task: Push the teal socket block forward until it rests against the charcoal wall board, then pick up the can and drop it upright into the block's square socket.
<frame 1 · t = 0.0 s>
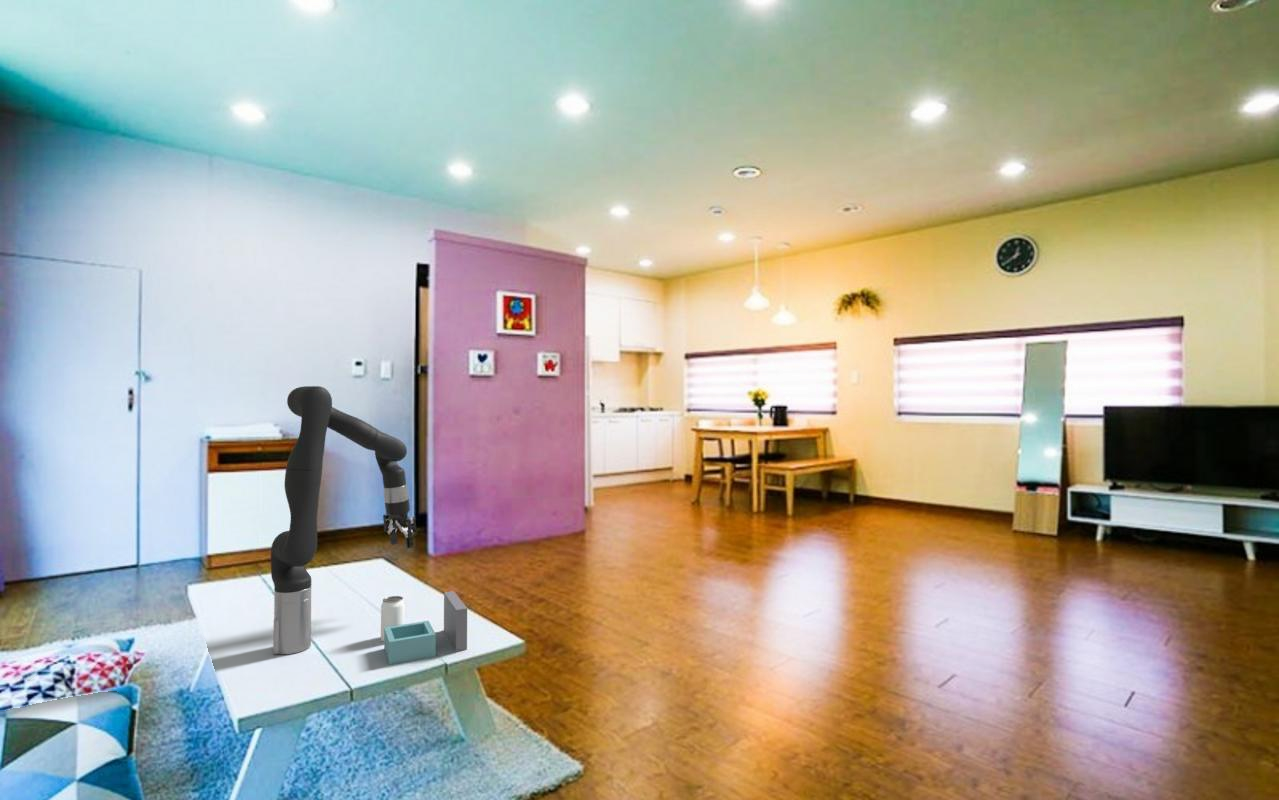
hand: (402, 545, 205), 22 cm above the table, tool pointing down, fingers open, 8 cm apart
socket block: (409, 641, 171), point 3 cm above the table, slide at 0.0 cm
can: (392, 640, 181), on the table
wall board: (454, 640, 181), on the table
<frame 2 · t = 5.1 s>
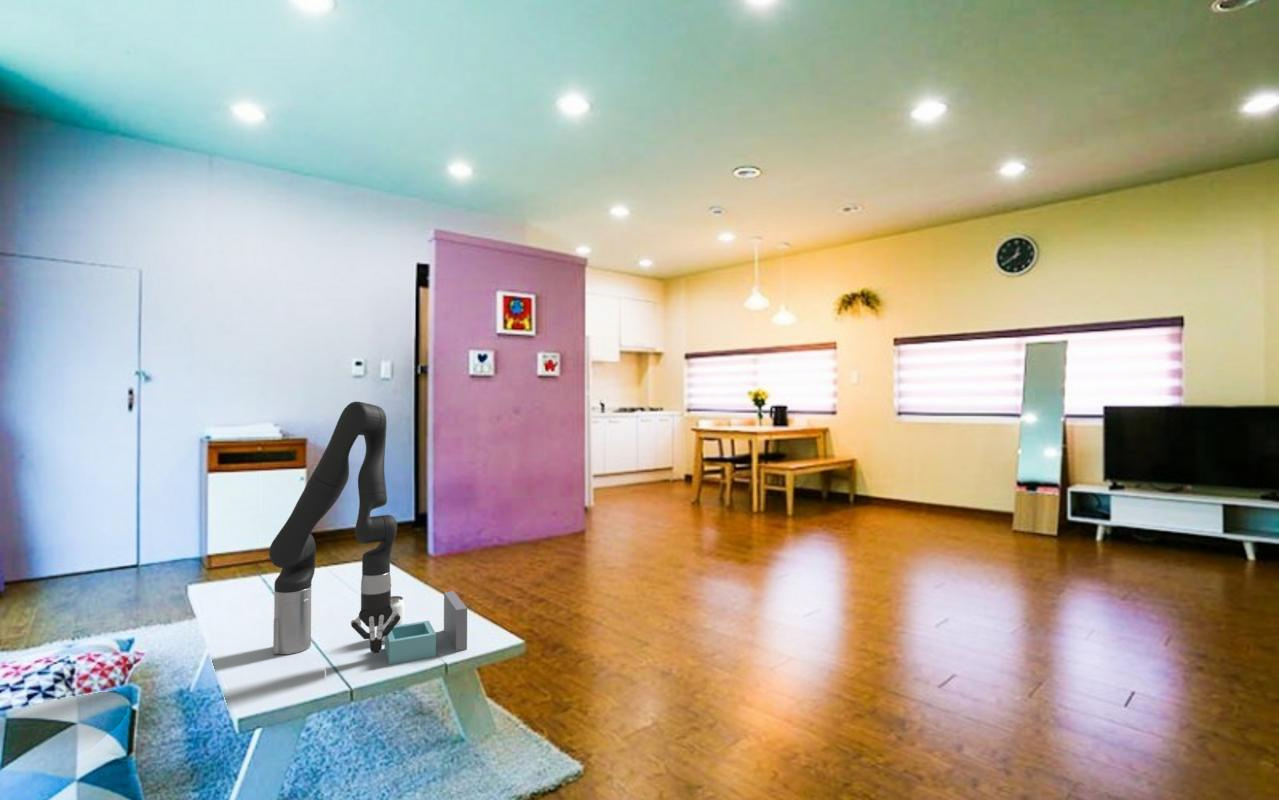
hand: (375, 652, 167), 2 cm above the table, tool pointing down, fingers closed
socket block: (409, 641, 171), point 3 cm above the table, slide at 0.1 cm, touching gripper
everything else where it was.
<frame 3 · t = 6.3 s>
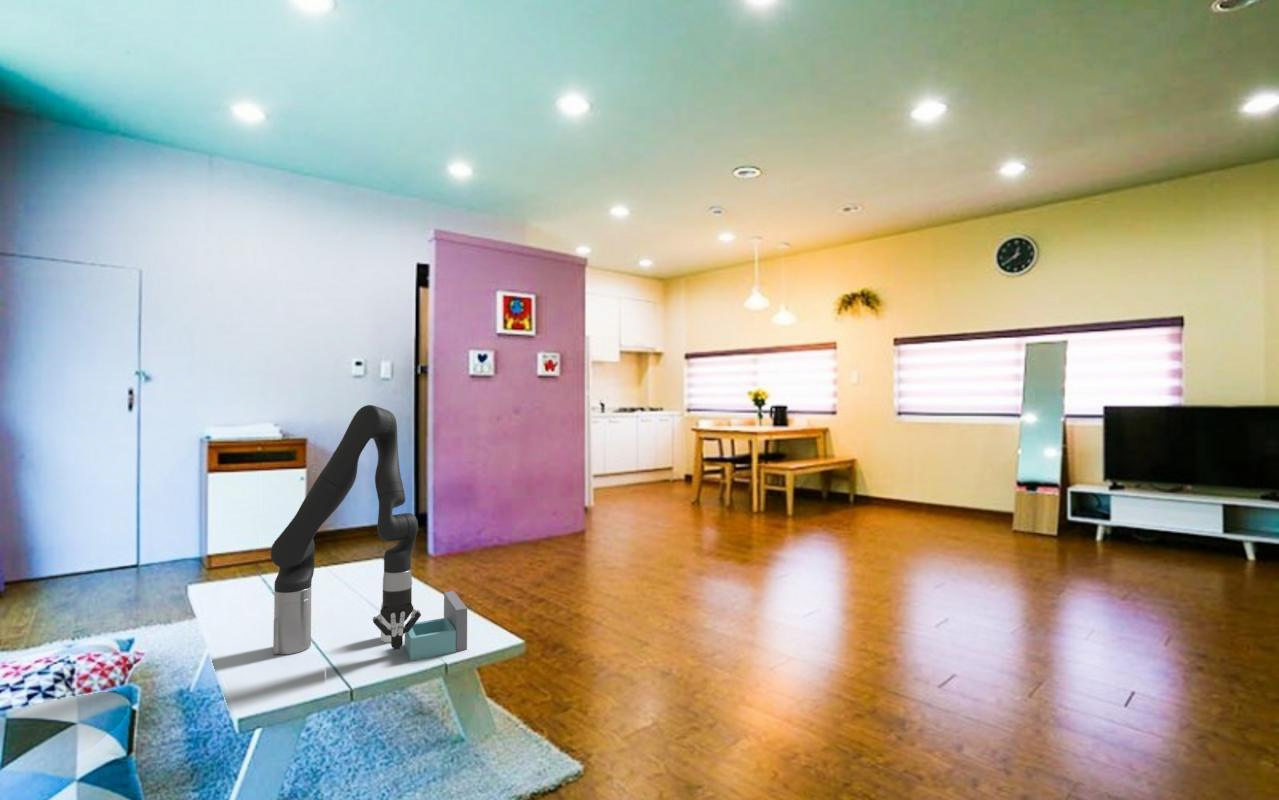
hand: (396, 648, 170), 2 cm above the table, tool pointing down, fingers closed
socket block: (429, 638, 174), point 3 cm above the table, slide at 5.5 cm, touching gripper
everything else where it was.
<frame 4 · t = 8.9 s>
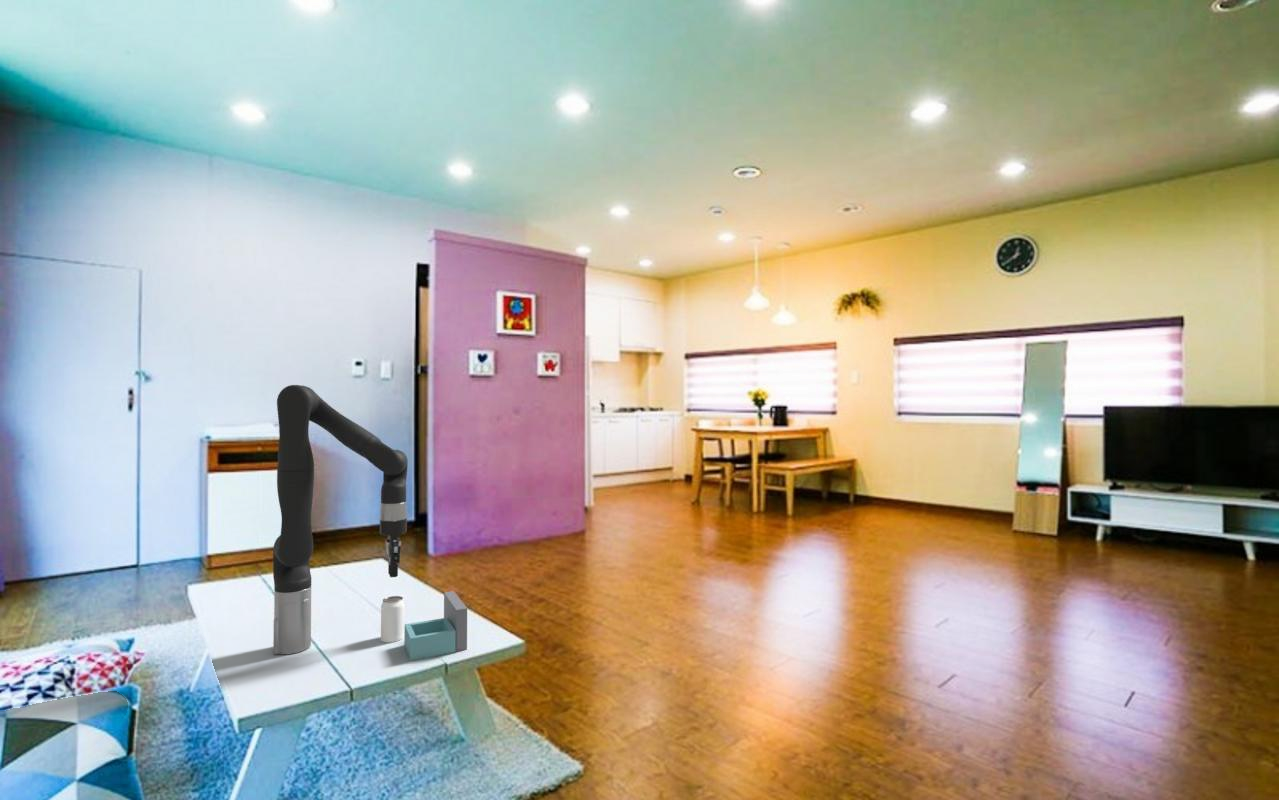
hand: (393, 575, 181), 19 cm above the table, tool pointing down, fingers closed
socket block: (429, 638, 174), point 3 cm above the table, slide at 5.4 cm
everything else where it was.
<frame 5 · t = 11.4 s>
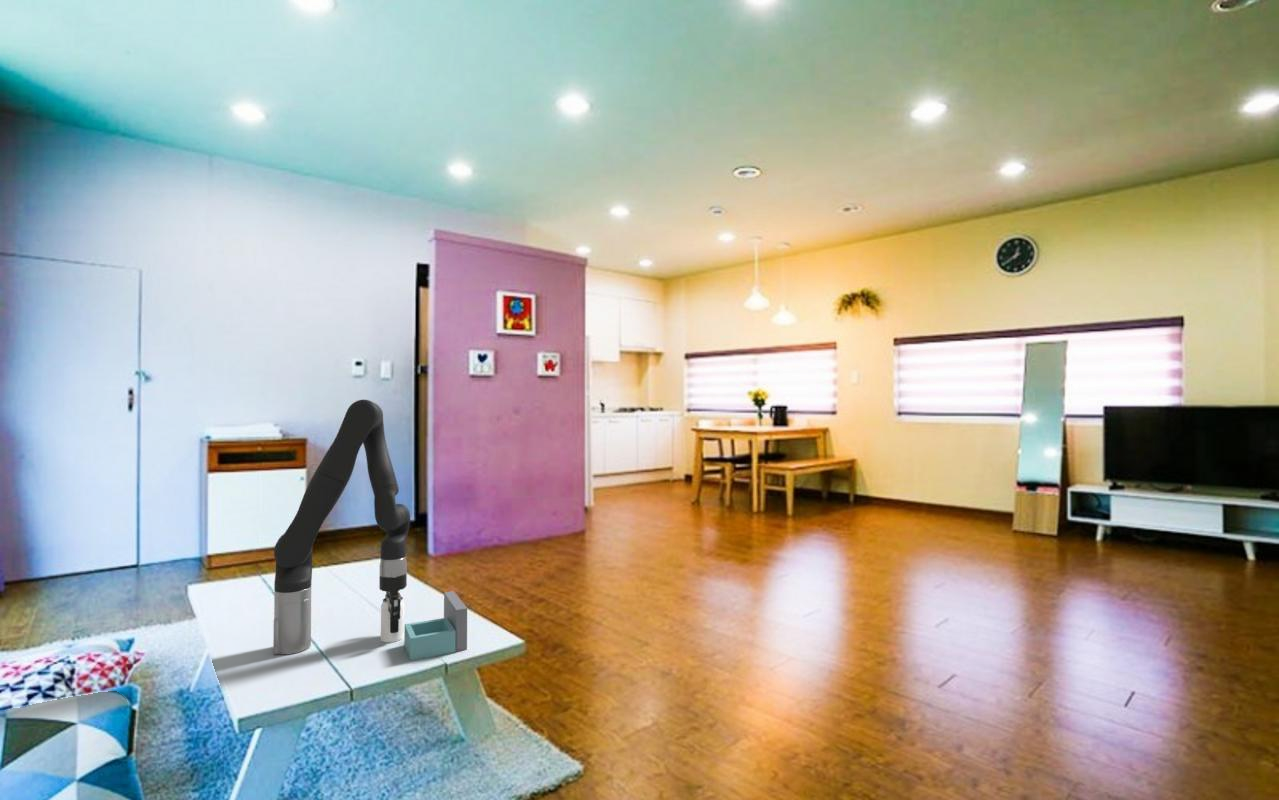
hand: (392, 628, 181), 3 cm above the table, tool pointing down, fingers closed on can, 6 cm apart
can: (392, 640, 181), on the table, touching gripper
everything else where it was.
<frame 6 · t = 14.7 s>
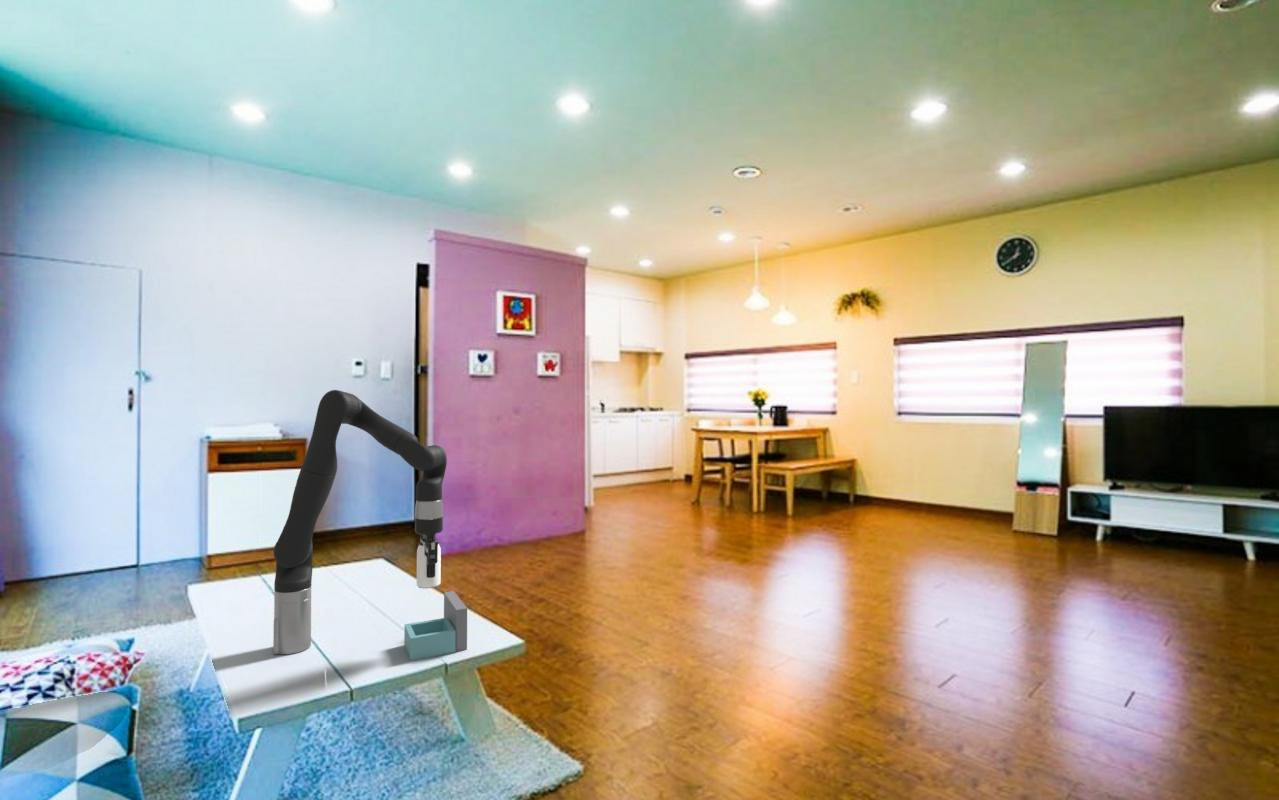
hand: (428, 573, 174), 22 cm above the table, tool pointing down, fingers closed on can, 6 cm apart
can: (428, 586, 174), point 18 cm above the table, touching gripper
everything else where it was.
when the fingers open (8 cm above the table, at t = 17.9 s): can drops 3 cm, resting on socket block.
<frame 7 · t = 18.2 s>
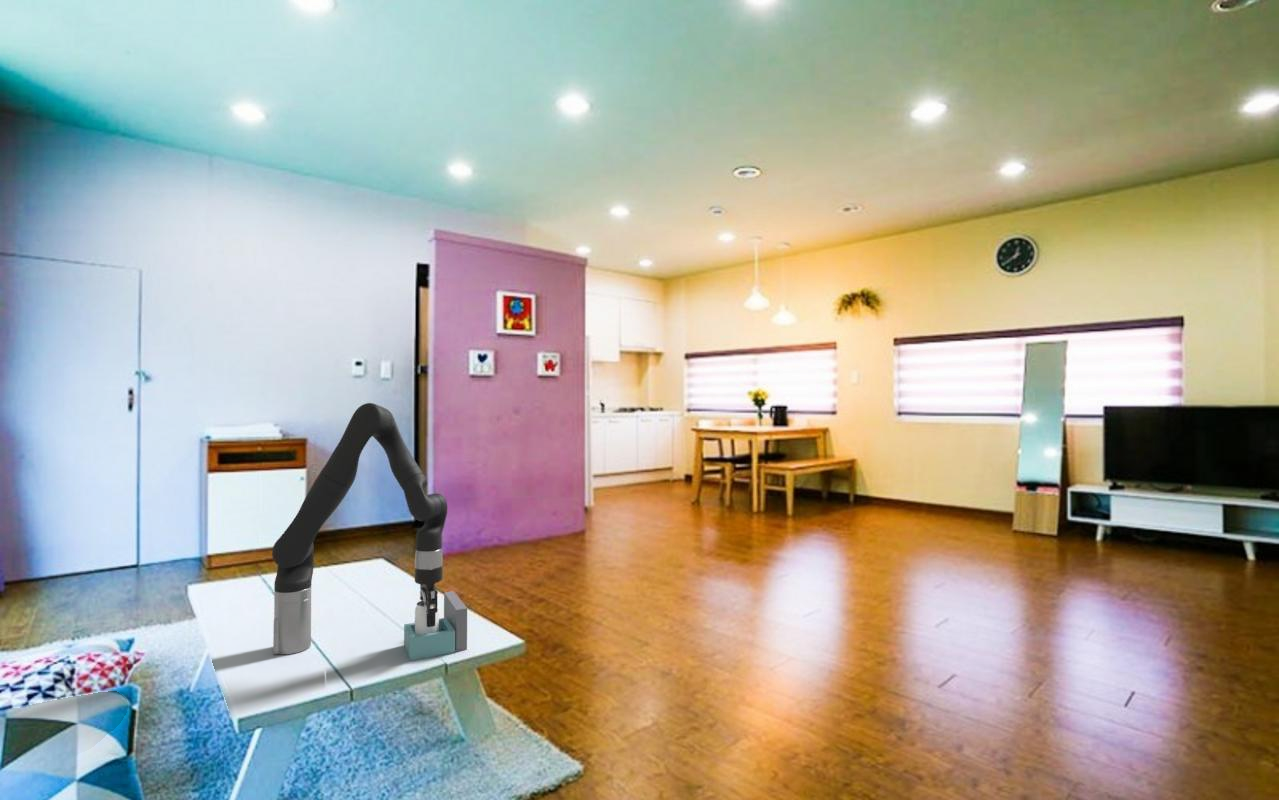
hand: (428, 621, 174), 8 cm above the table, tool pointing down, fingers open, 8 cm apart
socket block: (429, 638, 174), point 3 cm above the table, slide at 5.3 cm, touching can
can: (426, 645, 174), point 1 cm above the table, touching socket block
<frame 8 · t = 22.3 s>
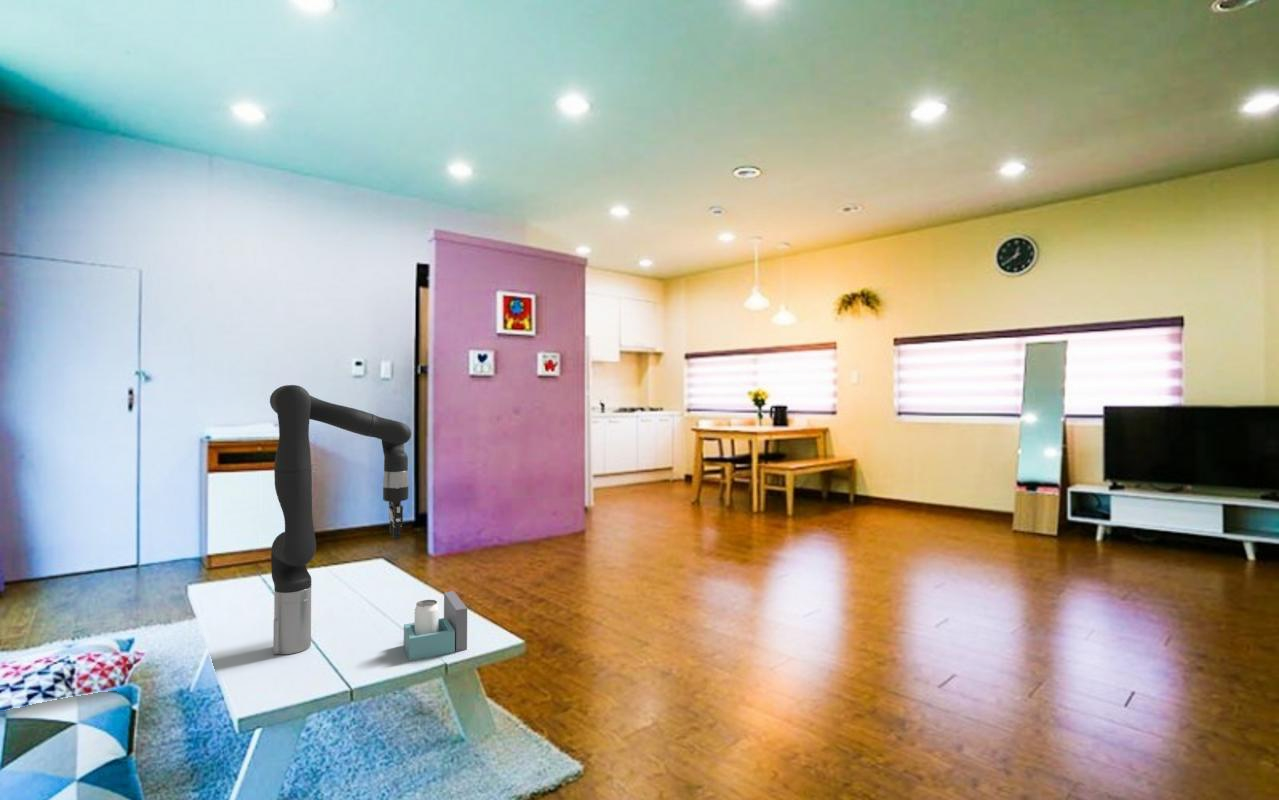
hand: (395, 536, 193), 28 cm above the table, tool pointing down, fingers open, 8 cm apart
nothing on the table moved.
at the end: socket block slide at 5.2 cm; can 0.8 cm off-centre on the socket block, point 0.8 cm above the socket block's base; can tilted 0° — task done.
